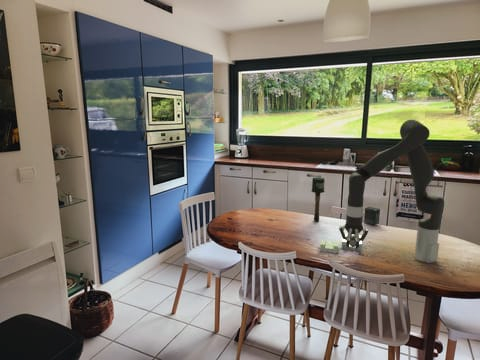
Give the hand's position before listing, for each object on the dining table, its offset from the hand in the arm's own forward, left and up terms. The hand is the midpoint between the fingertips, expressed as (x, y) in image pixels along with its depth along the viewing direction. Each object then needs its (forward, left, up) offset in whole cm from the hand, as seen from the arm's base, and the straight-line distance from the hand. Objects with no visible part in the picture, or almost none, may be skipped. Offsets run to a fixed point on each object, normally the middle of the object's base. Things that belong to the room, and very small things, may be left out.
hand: (352, 247), depth 157 cm
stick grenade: (+57, -25, -9) cm, 63 cm away
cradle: (+18, -2, -8) cm, 20 cm away
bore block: (+16, -16, -8) cm, 24 cm away
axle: (+5, -5, +1) cm, 7 cm away
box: (+37, -55, -9) cm, 67 cm away
